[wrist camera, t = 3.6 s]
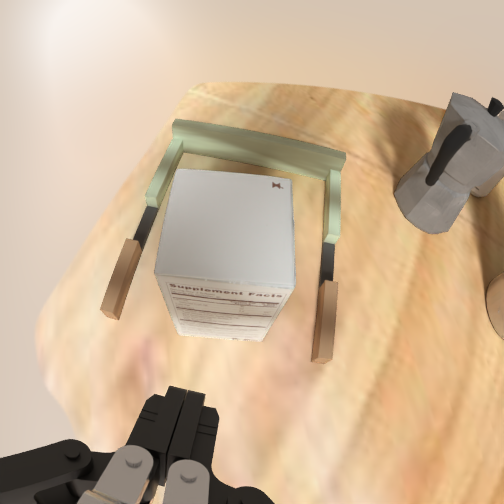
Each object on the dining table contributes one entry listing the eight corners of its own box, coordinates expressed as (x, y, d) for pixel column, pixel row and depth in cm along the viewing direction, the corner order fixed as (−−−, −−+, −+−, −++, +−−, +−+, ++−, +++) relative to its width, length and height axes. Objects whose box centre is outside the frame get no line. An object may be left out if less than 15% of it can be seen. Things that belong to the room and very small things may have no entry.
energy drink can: (453, 165, 43) (500, 97, 30) (480, 177, 43) (527, 115, 30) (461, 193, 40) (516, 122, 27) (488, 204, 40) (543, 141, 27)
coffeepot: (423, 166, 41) (482, 71, 26) (466, 214, 38) (540, 126, 22) (357, 202, 36) (427, 73, 20) (410, 265, 33) (514, 153, 17)
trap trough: (177, 144, 37) (175, 118, 34) (335, 176, 37) (345, 152, 34) (106, 316, 26) (92, 300, 23) (324, 363, 26) (341, 354, 23)
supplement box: (186, 259, 30) (175, 163, 19) (265, 267, 30) (296, 175, 20) (175, 337, 26) (149, 272, 15) (263, 345, 27) (300, 287, 16)
